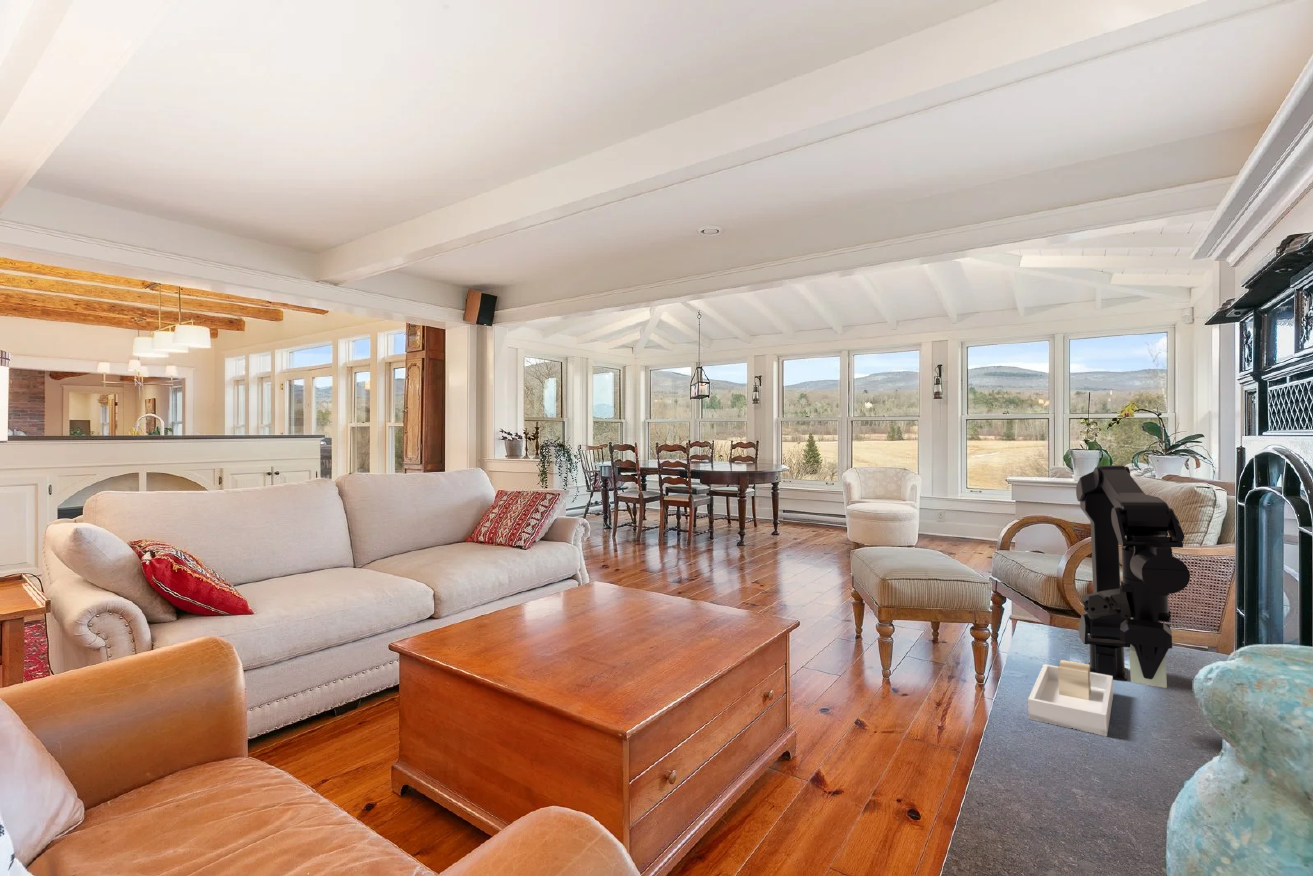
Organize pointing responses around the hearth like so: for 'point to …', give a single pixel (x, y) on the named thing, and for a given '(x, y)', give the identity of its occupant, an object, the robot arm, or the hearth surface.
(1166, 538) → the robot arm
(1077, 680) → the birch block
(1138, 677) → the green block
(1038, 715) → the tray
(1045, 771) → the hearth surface
